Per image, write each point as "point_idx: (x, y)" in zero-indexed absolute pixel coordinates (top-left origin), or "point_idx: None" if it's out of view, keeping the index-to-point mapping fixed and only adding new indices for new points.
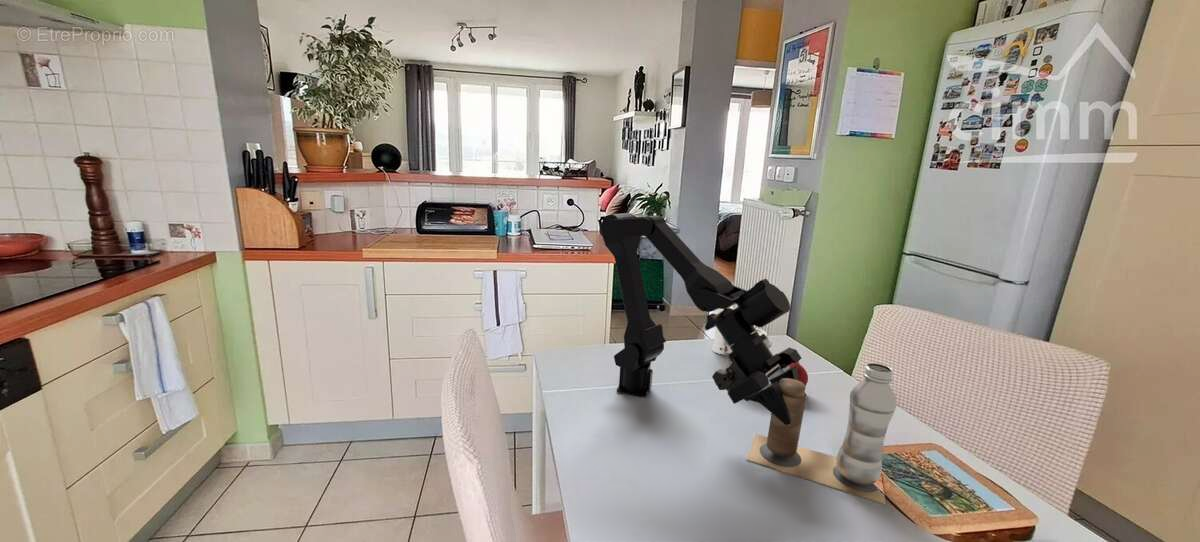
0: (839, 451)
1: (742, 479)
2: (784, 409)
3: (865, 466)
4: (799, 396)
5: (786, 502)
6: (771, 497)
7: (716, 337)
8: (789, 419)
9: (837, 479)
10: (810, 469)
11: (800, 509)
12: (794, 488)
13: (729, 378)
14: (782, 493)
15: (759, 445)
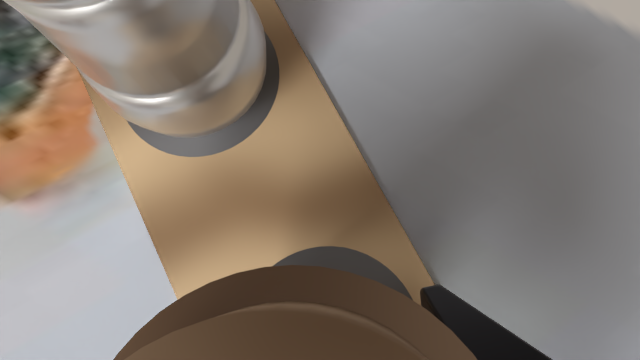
0: (208, 96)
1: (628, 327)
2: (540, 354)
3: None
4: (352, 314)
5: (564, 142)
6: (597, 189)
7: None
8: (453, 296)
9: (269, 109)
10: (307, 200)
11: (546, 95)
12: (466, 172)
13: None
14: (536, 180)
15: None
